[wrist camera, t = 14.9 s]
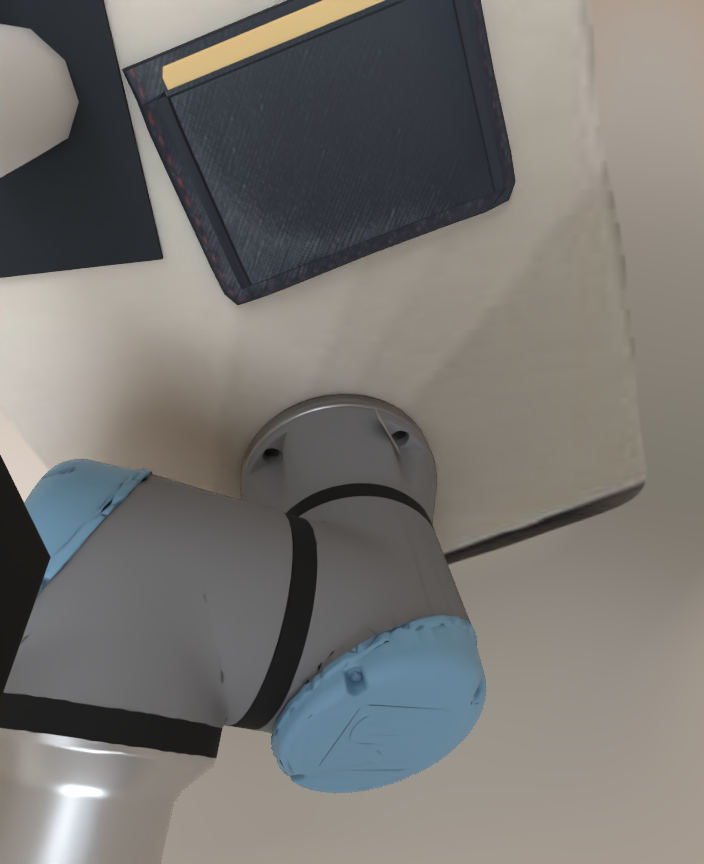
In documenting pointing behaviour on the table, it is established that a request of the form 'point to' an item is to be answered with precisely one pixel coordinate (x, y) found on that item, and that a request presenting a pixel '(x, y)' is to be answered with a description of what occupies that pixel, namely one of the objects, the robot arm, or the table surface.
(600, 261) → the table surface
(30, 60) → the fire extinguisher
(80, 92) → the mat
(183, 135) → the wallet
